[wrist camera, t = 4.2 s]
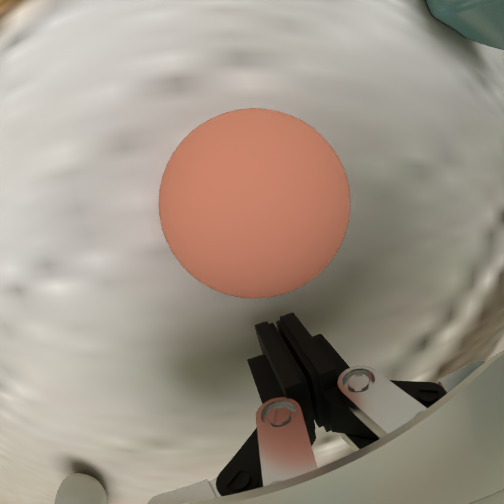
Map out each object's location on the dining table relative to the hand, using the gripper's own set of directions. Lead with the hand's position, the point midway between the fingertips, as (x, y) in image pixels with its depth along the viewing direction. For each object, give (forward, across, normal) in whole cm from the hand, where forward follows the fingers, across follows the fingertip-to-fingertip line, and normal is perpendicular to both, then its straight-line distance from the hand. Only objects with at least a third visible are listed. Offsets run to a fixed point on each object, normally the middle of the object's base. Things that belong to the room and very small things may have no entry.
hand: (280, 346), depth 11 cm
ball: (-1, 0, -6) cm, 6 cm away
